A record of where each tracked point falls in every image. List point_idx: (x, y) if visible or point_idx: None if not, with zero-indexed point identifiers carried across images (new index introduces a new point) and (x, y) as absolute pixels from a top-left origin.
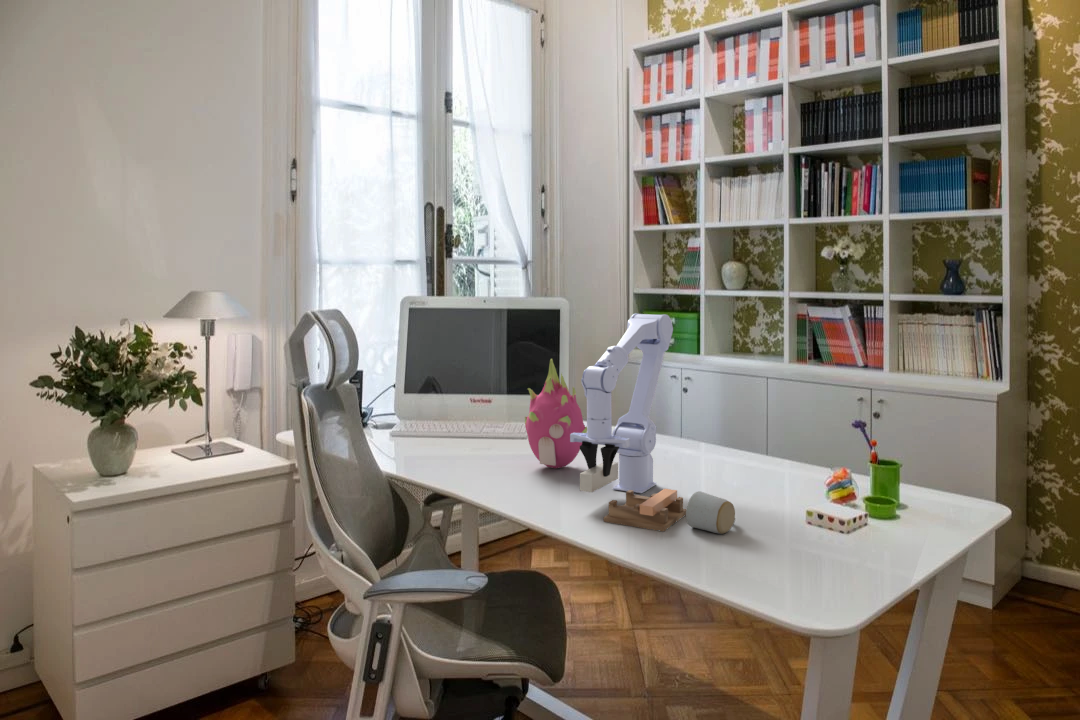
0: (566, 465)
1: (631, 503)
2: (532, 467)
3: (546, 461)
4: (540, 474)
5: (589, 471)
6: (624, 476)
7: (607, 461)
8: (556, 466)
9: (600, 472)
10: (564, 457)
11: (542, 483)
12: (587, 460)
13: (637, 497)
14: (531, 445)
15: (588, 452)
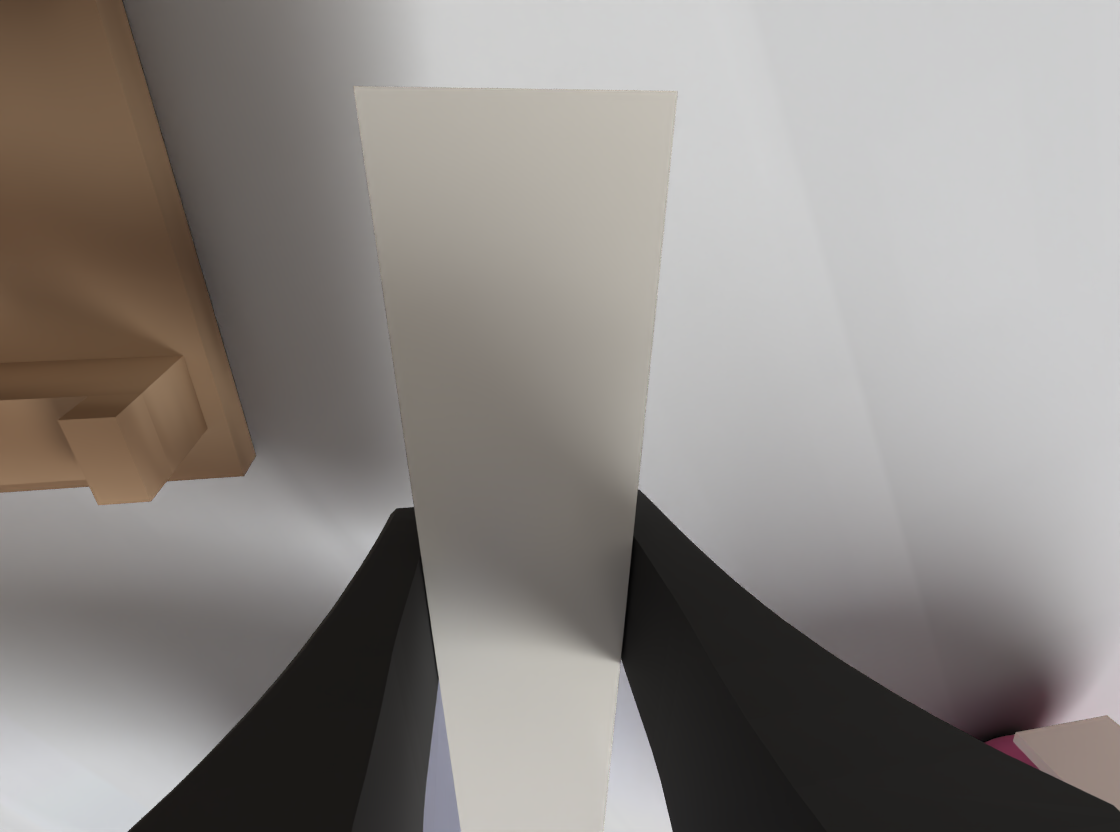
0: None
1: (109, 367)
2: (1106, 704)
3: (1085, 741)
4: (1054, 648)
5: (564, 357)
6: None
7: (264, 701)
8: (995, 746)
9: (412, 470)
10: None
11: (1025, 536)
12: (741, 618)
13: (2, 415)
14: None
15: (794, 782)
